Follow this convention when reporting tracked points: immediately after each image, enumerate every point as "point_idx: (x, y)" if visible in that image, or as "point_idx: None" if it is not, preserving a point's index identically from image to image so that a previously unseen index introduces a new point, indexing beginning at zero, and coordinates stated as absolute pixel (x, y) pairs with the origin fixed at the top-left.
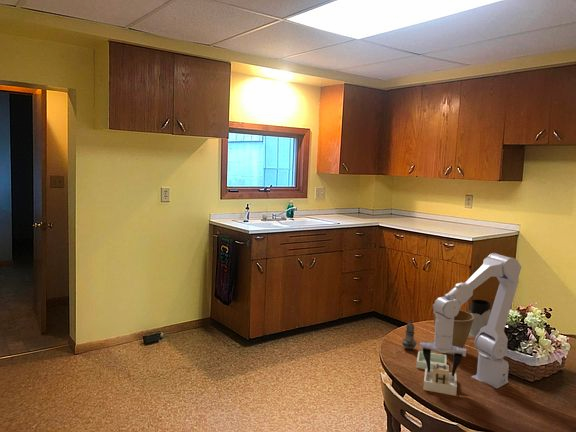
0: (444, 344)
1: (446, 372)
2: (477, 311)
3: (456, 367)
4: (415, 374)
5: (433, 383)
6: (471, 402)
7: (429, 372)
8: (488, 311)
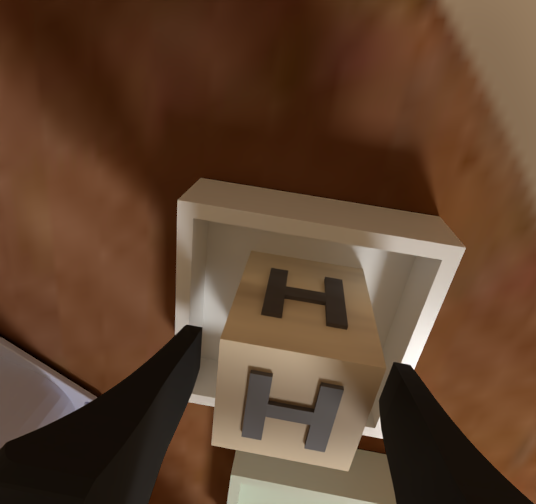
0: None
1: (248, 331)
2: None
3: (129, 377)
4: None
5: (377, 231)
6: (94, 97)
7: None
8: None
